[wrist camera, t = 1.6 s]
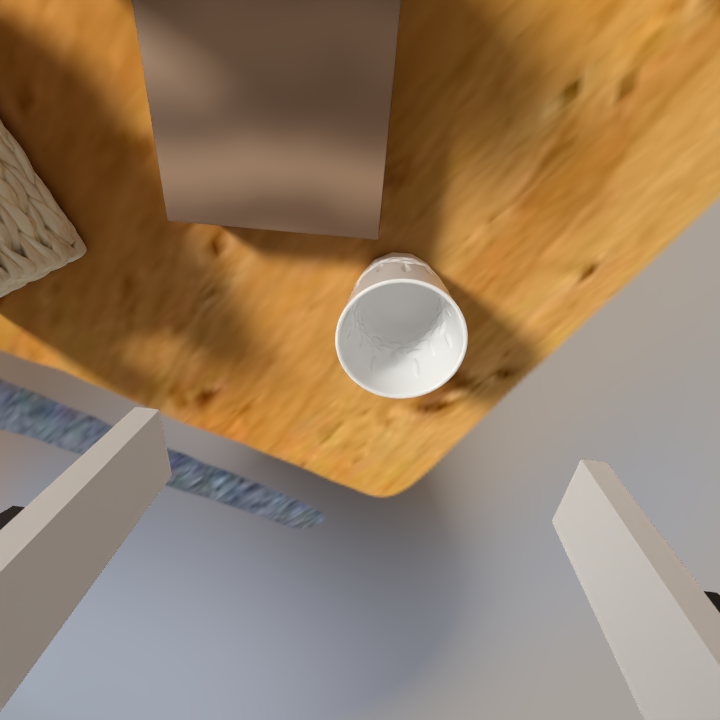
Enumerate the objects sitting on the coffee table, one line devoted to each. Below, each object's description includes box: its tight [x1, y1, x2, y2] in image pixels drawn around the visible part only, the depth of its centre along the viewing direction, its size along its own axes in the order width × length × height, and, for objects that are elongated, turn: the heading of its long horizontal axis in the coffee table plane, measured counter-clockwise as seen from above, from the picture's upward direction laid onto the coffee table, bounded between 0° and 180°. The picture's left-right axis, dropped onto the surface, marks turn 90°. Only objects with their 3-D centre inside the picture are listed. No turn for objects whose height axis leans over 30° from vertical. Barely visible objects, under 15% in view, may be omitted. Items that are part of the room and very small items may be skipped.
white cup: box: [335, 252, 468, 399], centre depth 27 cm, size 8×8×10 cm
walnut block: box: [132, 0, 401, 240], centre depth 23 cm, size 14×14×5 cm
